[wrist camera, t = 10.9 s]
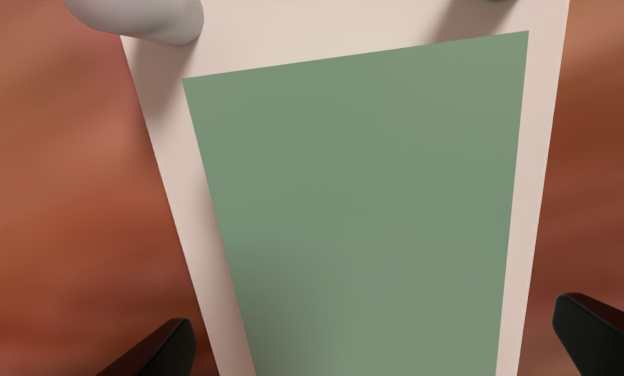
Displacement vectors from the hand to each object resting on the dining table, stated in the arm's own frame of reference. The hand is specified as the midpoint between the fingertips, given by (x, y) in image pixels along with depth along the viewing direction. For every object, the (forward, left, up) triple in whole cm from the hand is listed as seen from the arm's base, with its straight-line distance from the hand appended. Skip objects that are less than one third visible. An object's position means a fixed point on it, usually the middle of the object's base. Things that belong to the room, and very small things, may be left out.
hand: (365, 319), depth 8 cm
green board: (0, 0, -3) cm, 3 cm away
